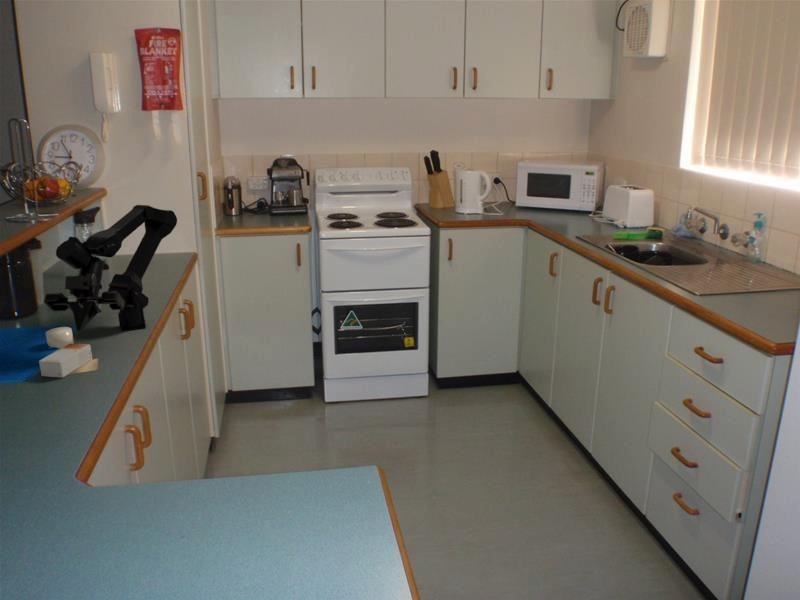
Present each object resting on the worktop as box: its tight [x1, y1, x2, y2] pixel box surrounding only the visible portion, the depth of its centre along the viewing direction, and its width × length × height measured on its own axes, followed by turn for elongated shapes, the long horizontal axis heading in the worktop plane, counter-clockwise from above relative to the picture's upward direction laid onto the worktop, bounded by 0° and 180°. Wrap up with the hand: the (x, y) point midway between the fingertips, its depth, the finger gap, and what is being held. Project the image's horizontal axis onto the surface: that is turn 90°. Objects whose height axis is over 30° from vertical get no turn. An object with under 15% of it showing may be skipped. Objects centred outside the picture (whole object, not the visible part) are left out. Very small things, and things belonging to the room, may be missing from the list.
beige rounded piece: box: [45, 326, 75, 350], centre depth 190 cm, size 6×6×4 cm
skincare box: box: [38, 343, 93, 379], centre depth 174 cm, size 6×4×12 cm
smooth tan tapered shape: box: [67, 358, 99, 376], centre depth 175 cm, size 10×8×1 cm
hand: (79, 330), depth 178 cm, fingers closed
